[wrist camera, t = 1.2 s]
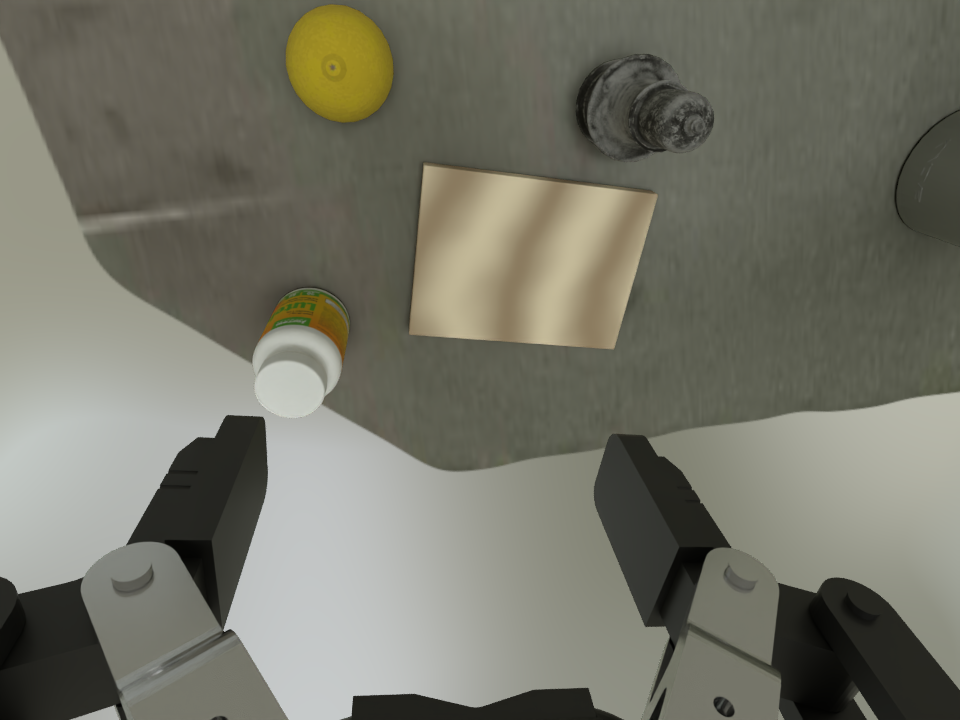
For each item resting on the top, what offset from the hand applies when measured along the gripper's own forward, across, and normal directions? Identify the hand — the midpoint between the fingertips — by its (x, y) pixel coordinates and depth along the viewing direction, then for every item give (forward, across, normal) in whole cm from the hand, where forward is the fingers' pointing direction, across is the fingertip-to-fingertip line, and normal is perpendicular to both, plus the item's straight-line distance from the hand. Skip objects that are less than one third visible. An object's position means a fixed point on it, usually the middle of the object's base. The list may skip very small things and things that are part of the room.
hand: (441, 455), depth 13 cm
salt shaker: (+28, -12, -7) cm, 31 cm away
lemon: (+28, +5, -7) cm, 29 cm away
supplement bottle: (+28, +7, +10) cm, 31 cm away
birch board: (+28, -8, +4) cm, 29 cm away
